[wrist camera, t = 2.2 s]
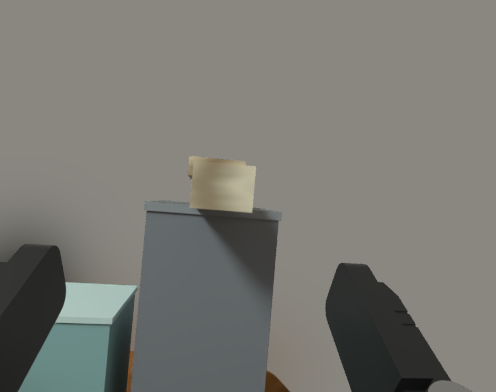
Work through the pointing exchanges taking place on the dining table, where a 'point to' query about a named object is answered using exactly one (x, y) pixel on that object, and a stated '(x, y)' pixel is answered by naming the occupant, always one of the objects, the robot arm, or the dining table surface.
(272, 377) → the dining table surface
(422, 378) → the robot arm
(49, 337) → the tall pale green pillar
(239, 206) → the beige stepped bar
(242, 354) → the stand
